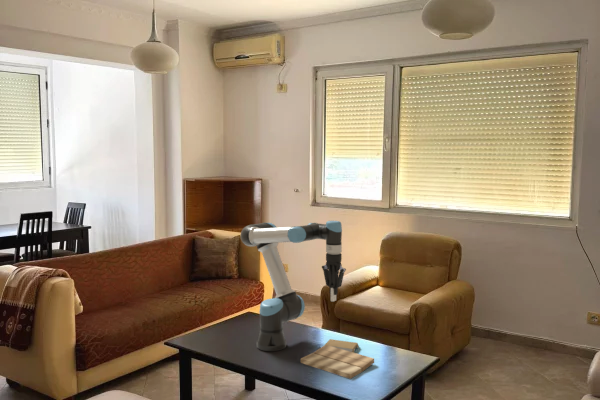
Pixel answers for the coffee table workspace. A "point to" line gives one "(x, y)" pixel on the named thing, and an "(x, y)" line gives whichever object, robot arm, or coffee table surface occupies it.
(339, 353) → the board
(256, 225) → the robot arm
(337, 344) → the crown molding
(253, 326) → the coffee table surface
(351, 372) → the laid board
